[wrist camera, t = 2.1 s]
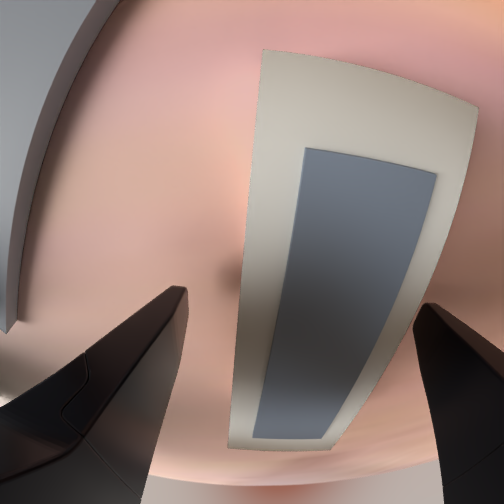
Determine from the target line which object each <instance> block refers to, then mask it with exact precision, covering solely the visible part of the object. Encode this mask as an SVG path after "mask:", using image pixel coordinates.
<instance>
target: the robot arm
mask: <svg viewBox="0 0 504 504" xmlns="http://www.w3.org/2000/svg"><path fill="white" fill-rule="evenodd" d="M188 315H189V307H188V291H187V288H186V287H182V286H171V287H169V288H168V289H167V290H165V291H164V292H163V293H161V294H160V295H158V296H157V297H156V298H154V299H153V300H152V301H150V302H149V303H148V304H146V305H145V306H144V307H142V308H141V309H140V310H138V311H137V312H136V313H134V314H133V315H132V316H130V317H129V318H128V319H126V320H125V321H124V322H122V323H121V324H120V325H118V326H117V327H116V328H115V329H113V330H112V331H111V332H109V333H108V334H107V335H105V336H104V337H103V338H101V339H100V340H99V341H97V342H96V343H95V344H94V345H92V346H91V347H90V348H88V349H87V350H86V351H85V353H82V354H80V355H79V356H78V357H76V358H75V359H74V360H73V361H71V362H70V363H68V364H67V365H66V366H64V367H63V368H62V369H60V370H59V371H58V372H56V373H55V374H53V375H51V376H50V377H48V378H47V379H45V380H44V381H42V382H41V383H39V384H38V385H36V386H34V387H33V388H31V389H30V390H28V391H26V392H25V393H23V394H22V395H20V396H18V397H17V398H15V399H14V400H12V401H10V402H9V403H7V404H5V405H4V406H2V407H0V504H140V503H141V499H140V498H142V495H143V491H144V487H145V483H146V480H147V476H148V472H149V468H150V465H151V461H152V458H153V454H154V450H155V447H156V443H157V440H158V436H159V433H160V429H161V426H162V422H163V419H164V416H165V412H166V409H167V405H168V402H169V399H170V395H171V392H172V389H173V386H174V382H175V379H176V376H177V373H178V369H179V365H180V360H181V355H182V349H183V344H184V338H185V333H186V327H187V322H188ZM413 334H414V339H415V344H416V349H417V355H418V361H419V367H420V372H421V376H422V380H423V384H424V388H425V392H426V396H427V400H428V405H429V409H430V414H431V418H432V423H433V428H434V433H435V439H436V444H437V450H438V456H439V463H440V469H441V476H442V485H443V496H444V504H504V352H502V351H501V350H500V349H498V348H497V347H496V346H494V345H493V344H492V343H490V342H489V341H488V340H486V339H485V338H484V337H482V336H481V335H480V334H478V333H477V332H476V331H474V330H473V329H472V328H470V327H469V326H467V325H466V324H465V323H463V322H462V321H460V320H459V319H458V318H456V317H455V316H453V315H452V314H451V313H449V312H448V311H446V310H445V309H443V308H442V307H440V306H439V305H438V304H436V303H424V304H423V305H422V307H421V309H420V311H419V313H418V315H417V317H416V319H415V321H414V324H413Z"/></svg>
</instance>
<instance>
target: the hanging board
mask: <svg viewBox="0 0 504 504" xmlns="http://www.w3.org/2000/svg"><path fill="white" fill-rule="evenodd" d="M119 1H120V0H0V330H2V331H3V332H4V333H5V334H7V333H8V331H9V330H10V329H11V327H12V326H13V325H14V323H15V322H16V321H17V301H18V287H19V276H20V267H21V259H22V252H23V245H24V239H25V233H26V228H27V222H28V217H29V213H30V208H31V203H32V199H33V195H34V191H35V187H36V183H37V179H38V176H39V172H40V169H41V165H42V162H43V159H44V155H45V152H46V149H47V146H48V143H49V140H50V137H51V135H52V132H53V129H54V126H55V124H56V121H57V118H58V116H59V113H60V111H61V108H62V106H63V104H64V101H65V99H66V97H67V94H68V92H69V90H70V88H71V85H72V83H73V81H74V79H75V77H76V75H77V73H78V71H79V69H80V67H81V65H82V63H83V61H84V59H85V57H86V55H87V53H88V51H89V50H90V48H91V46H92V44H93V42H94V41H95V39H96V37H97V36H98V34H99V32H100V30H101V29H102V27H103V26H104V24H105V22H106V21H107V19H108V18H109V16H110V14H111V13H112V11H113V10H114V8H115V7H116V5H117V4H118V2H119Z"/></svg>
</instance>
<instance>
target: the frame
mask: <svg viewBox="0 0 504 504" xmlns="http://www.w3.org/2000/svg"><path fill="white" fill-rule="evenodd" d="M478 111H479V108H478V107H476V106H474V105H472V104H470V103H468V102H465V101H463V100H461V99H459V98H456V97H454V96H452V95H449V94H447V93H444V92H442V91H439V90H437V89H434V88H431V87H429V86H426V85H423V84H420V83H418V82H415V81H412V80H409V79H406V78H403V77H399V76H396V75H393V74H390V73H386V72H383V71H379V70H375V69H372V68H368V67H364V66H360V65H356V64H351V63H347V62H342V61H338V60H333V59H328V58H322V57H317V56H311V55H305V54H298V53H291V52H283V51H274V50H264V49H263V53H262V63H261V73H260V82H259V92H258V103H257V113H256V123H255V133H254V144H253V154H252V165H251V176H250V186H249V197H248V208H247V219H246V230H245V242H244V253H243V264H242V276H241V287H240V299H239V311H238V323H237V335H236V347H235V360H234V372H233V385H232V398H231V411H230V424H229V437H228V448H230V449H243V450H260V451H323V450H331V448H332V447H333V446H334V445H335V443H336V442H337V441H338V439H339V438H340V437H341V435H342V434H343V433H344V431H345V430H346V429H347V427H348V426H349V424H350V423H351V422H352V420H353V419H354V417H355V416H356V414H357V413H358V412H359V410H360V409H361V407H362V406H363V404H364V403H365V401H366V400H367V398H368V397H369V395H370V393H371V392H372V390H373V389H374V387H375V386H376V384H377V382H378V381H379V379H380V377H381V376H382V374H383V372H384V371H385V369H386V367H387V366H388V364H389V362H390V360H391V359H392V357H393V355H394V353H395V352H396V350H397V348H398V346H399V344H400V342H401V340H402V339H403V337H404V335H405V333H406V331H407V329H408V327H409V325H410V323H411V321H412V319H413V317H414V315H415V313H416V311H417V309H418V307H419V304H420V302H421V300H422V298H423V296H424V293H425V291H426V289H427V287H428V284H429V282H430V280H431V277H432V275H433V272H434V270H435V268H436V265H437V263H438V260H439V257H440V255H441V252H442V250H443V247H444V244H445V241H446V239H447V236H448V233H449V230H450V227H451V224H452V221H453V218H454V215H455V211H456V208H457V205H458V202H459V198H460V195H461V191H462V187H463V184H464V180H465V176H466V172H467V168H468V164H469V159H470V155H471V150H472V145H473V140H474V135H475V130H476V124H477V118H478Z"/></svg>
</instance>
